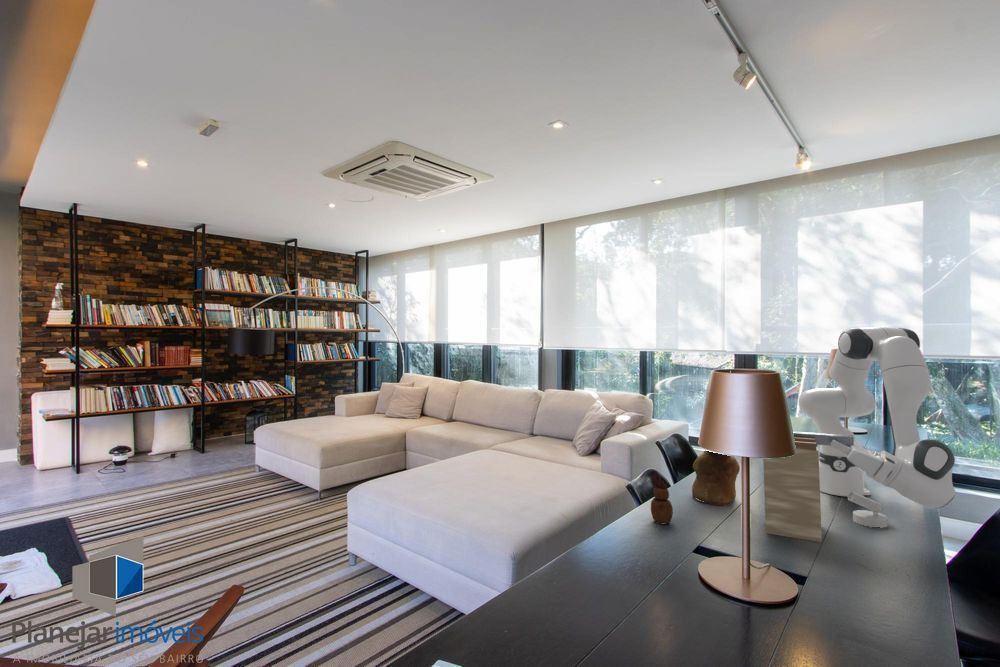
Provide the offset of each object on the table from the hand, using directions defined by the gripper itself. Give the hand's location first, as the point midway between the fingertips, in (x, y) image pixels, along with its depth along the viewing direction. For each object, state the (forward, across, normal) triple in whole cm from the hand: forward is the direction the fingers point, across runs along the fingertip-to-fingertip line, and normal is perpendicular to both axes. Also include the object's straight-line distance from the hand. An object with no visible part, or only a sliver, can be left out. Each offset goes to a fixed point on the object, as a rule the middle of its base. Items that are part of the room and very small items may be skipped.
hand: (830, 438), depth 144 cm
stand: (-5, +4, +29) cm, 30 cm away
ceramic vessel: (+15, -12, +41) cm, 45 cm away
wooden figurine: (+26, +17, +48) cm, 57 cm away
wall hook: (-22, -13, +20) cm, 32 cm away
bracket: (+3, 0, +4) cm, 5 cm away
